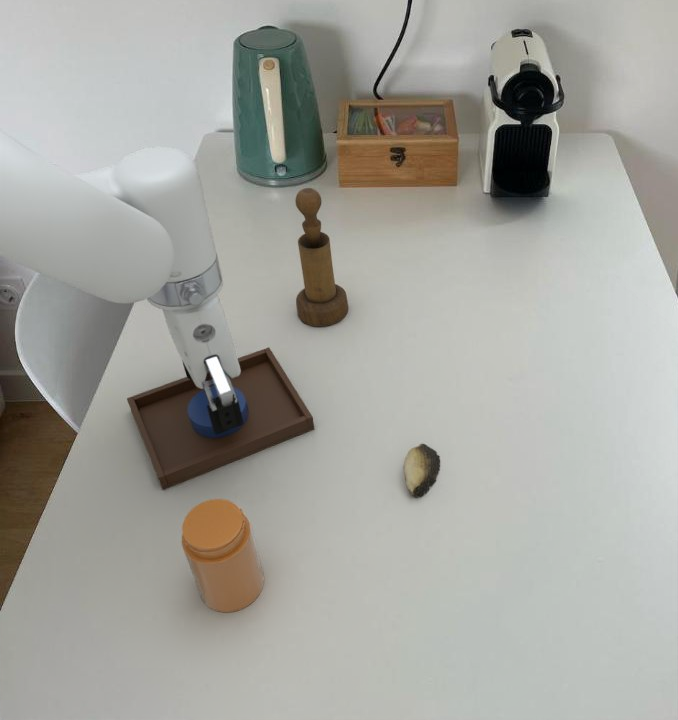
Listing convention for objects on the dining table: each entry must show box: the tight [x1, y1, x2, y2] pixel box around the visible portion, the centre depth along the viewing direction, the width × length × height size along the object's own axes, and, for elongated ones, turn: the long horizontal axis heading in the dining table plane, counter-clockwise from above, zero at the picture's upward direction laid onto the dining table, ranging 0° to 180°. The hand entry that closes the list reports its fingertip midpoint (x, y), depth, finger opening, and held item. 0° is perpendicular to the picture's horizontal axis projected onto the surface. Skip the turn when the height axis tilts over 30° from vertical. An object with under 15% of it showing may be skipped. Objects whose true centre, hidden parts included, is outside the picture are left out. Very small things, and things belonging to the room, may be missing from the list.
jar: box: [181, 498, 265, 613], centre depth 73 cm, size 6×6×10 cm
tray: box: [126, 347, 315, 491], centre depth 92 cm, size 17×13×2 cm
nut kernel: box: [403, 443, 441, 498], centre depth 85 cm, size 6×5×3 cm
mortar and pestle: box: [295, 187, 349, 327], centre depth 100 cm, size 7×6×18 cm
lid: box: [188, 386, 249, 438], centre depth 91 cm, size 6×6×2 cm
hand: (214, 399), depth 90 cm, fingers open, 9 cm apart
